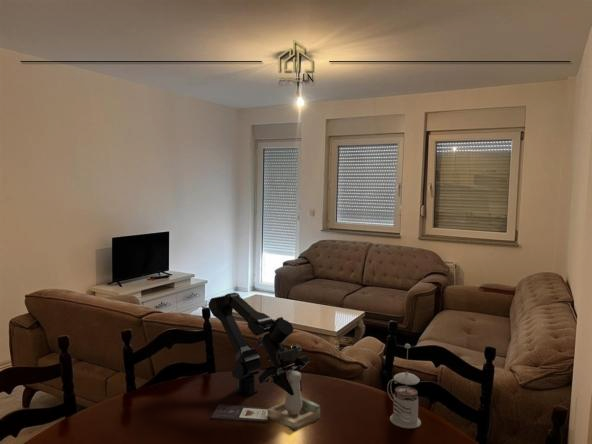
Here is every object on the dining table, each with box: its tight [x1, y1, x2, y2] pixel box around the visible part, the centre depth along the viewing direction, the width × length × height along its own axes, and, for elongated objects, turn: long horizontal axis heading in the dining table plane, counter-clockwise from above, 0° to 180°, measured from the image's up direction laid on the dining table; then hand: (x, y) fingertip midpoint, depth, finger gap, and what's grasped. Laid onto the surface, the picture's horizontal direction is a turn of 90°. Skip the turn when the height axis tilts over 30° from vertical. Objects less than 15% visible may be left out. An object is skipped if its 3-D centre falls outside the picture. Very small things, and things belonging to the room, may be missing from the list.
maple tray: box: [268, 396, 321, 432], centre depth 138 cm, size 12×12×4 cm
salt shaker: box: [284, 371, 303, 415], centre depth 138 cm, size 6×6×13 cm
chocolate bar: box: [210, 403, 270, 424], centre depth 140 cm, size 9×1×18 cm
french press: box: [386, 343, 422, 429], centre depth 138 cm, size 10×12×25 cm
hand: (296, 393), depth 137 cm, fingers closed on salt shaker, 3 cm apart
